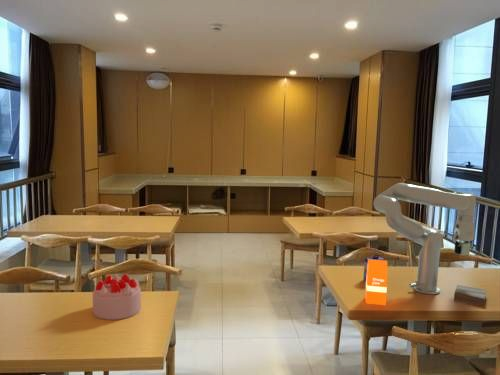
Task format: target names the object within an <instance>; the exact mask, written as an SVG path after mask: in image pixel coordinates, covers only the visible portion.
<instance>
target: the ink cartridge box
mask: <svg viewBox="0 0 500 375" xmlns="http://www.w3.org/2000/svg"><path fill="white" fill-rule="evenodd" d="M368 259H370V260H383V261H386V259H385V258H383V257H381V256H380V254H375V255H373V257H370V256H369V257H365V258H364V265H363V266H364V268H363V280H364V281H366V276H367V265H368Z"/></svg>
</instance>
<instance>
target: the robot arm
mask: <svg viewBox="0 0 500 375" xmlns="http://www.w3.org/2000/svg"><path fill="white" fill-rule="evenodd" d="M399 200H400V201H403V202H407V203H413V204H420V205H425V206H430V207H431V206H432V207H440V208H446V209H449V210H450V209H451V210H457V216H456V220H455V224H454V230H453V236H452V238H451V241H452V242H453V243H454V248H455V253H457V254H456V255H458V254H461V243H462V241H463V242H467V243H470V246H471V244H472V242H473V241H474V240H475V231H476V230H475V229H476V228H475V227H476V225H475V221H474V217H475V211H476V210H475V208H476V201H477V198H476V195H475V194H471V193H454V192H448V191H443V190H439V189H436V188H431V187H426V186H420V185H415V184H411V183H410V184H409V183H405V182H398V183H395V184H394V185H391V186H390V187H389V188H387V189H386V190H385V191H383V192H381V193H379V194H377V196H375V198H374V199H373V207H374V209H375V210H376V211H378V212H380V213H382V214H385V221H386V224H387V226H388V227H389V228H390V229H392V230H394V231H395V232H396V233H397V234H398V235H400V236H401V237H403V238H406V239H407V240H409V241H412V242H414V243H416V244H419V245H421V246H422V247H421V249H420V251H419V253H418V265H417V266H418V267H417V277H416V278H417V280H415V281H414V283H409V285H408V286H409V288H413V290H414V291H415V292H418V293H421V294H425V295H438V294H440V293H441V289H440V288H439V287H438V281H439V280H438V277H439V266H440V265H439V264H440V255H441V249H442V246H443V242H444V239H443V236H442V234H441V233H440V232H439V231H437V230H435V229H433V228H431V227H427V226H424V225H422V224H421V223H420V222H419V221H417V220H414V219H411V218H410V217H408V216H406V215H404V214H403V213H402V207H401V206H402V205H401V204H400V202H399ZM458 241H459V243H458ZM455 253H454V254H455Z"/></svg>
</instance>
